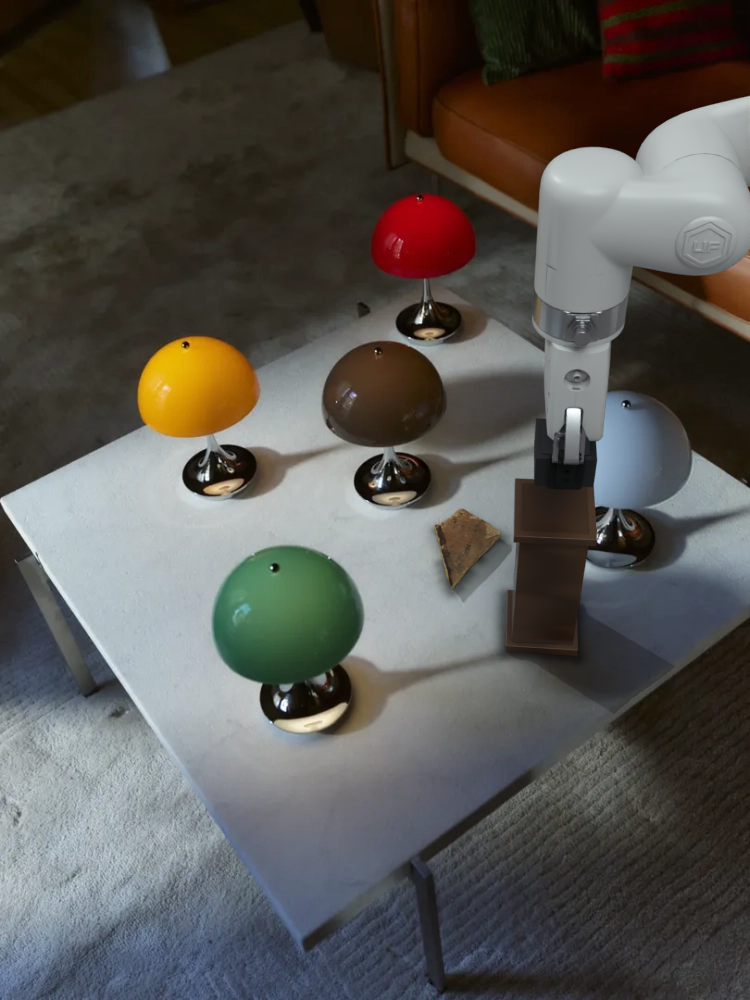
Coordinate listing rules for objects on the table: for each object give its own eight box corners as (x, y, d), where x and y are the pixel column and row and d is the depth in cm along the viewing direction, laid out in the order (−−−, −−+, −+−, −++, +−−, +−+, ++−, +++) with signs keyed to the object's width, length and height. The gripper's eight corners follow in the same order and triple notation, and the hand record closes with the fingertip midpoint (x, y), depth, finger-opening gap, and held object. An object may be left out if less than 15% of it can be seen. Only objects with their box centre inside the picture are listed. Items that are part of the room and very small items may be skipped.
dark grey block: (591, 446, 92) (594, 418, 89) (593, 487, 88) (597, 459, 86) (534, 445, 93) (535, 417, 90) (533, 485, 89) (535, 457, 86)
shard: (450, 594, 113) (450, 585, 112) (401, 564, 117) (401, 554, 115) (503, 539, 118) (504, 530, 117) (454, 512, 122) (454, 503, 121)
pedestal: (575, 599, 112) (593, 481, 97) (577, 656, 106) (597, 540, 92) (506, 595, 112) (515, 477, 98) (505, 651, 107) (513, 536, 93)
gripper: (634, 373, 71) (608, 532, 84) (620, 247, 82) (599, 405, 95) (532, 371, 72) (522, 529, 85) (533, 247, 83) (524, 403, 96)
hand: (563, 462), depth 90 cm, fingers closed on dark grey block, 5 cm apart
